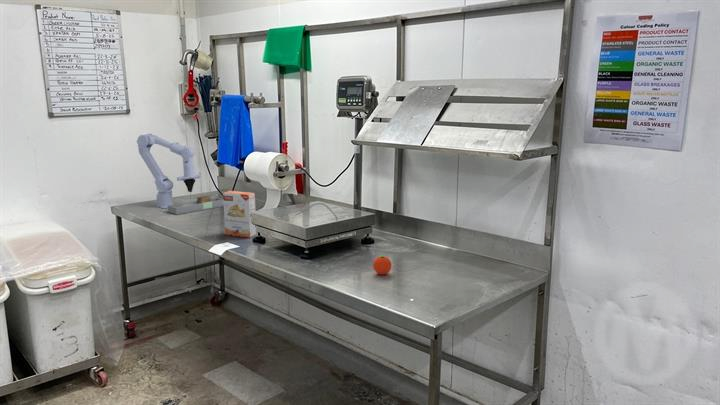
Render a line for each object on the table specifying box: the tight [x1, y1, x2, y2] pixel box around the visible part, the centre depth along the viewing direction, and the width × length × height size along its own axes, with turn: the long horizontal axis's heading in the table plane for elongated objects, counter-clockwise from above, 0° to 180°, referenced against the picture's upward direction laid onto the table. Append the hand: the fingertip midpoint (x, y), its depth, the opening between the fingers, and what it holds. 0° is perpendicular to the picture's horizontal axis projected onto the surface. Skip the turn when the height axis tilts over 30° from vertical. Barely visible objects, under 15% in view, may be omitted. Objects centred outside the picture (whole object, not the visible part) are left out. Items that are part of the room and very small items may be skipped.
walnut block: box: [196, 195, 212, 204], centre depth 307 cm, size 5×6×4 cm
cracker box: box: [222, 190, 257, 239], centre depth 247 cm, size 14×6×21 cm, turn 70°
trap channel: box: [166, 197, 224, 216], centre depth 304 cm, size 12×32×4 cm, turn 139°
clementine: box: [372, 255, 392, 276], centre depth 196 cm, size 8×7×7 cm
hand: (190, 191), depth 307 cm, fingers closed
